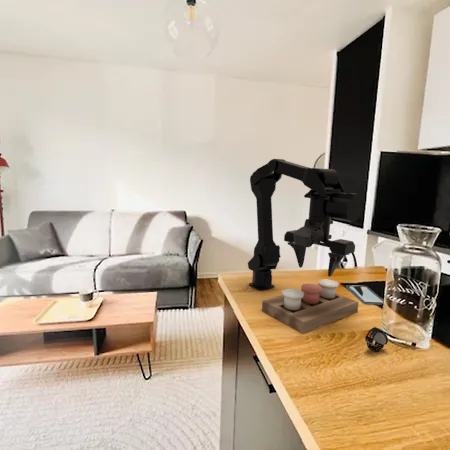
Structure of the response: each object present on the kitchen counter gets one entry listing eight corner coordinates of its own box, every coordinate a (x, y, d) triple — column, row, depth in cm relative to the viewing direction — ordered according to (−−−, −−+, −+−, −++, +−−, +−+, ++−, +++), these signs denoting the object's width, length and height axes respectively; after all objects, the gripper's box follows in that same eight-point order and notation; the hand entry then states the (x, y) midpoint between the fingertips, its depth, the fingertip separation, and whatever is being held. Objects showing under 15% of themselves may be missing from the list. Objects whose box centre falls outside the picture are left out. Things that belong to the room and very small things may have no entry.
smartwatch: (389, 354, 65) (392, 332, 64) (368, 355, 64) (370, 333, 63) (377, 343, 69) (379, 323, 68) (356, 345, 68) (358, 324, 67)
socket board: (261, 310, 84) (262, 300, 84) (315, 294, 97) (315, 285, 97) (303, 333, 72) (303, 322, 72) (357, 311, 85) (358, 301, 85)
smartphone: (364, 303, 90) (345, 285, 105) (363, 306, 91) (344, 287, 105) (388, 304, 90) (366, 285, 105) (388, 306, 91) (365, 288, 105)
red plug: (296, 299, 85) (297, 285, 84) (309, 295, 88) (310, 282, 88) (312, 306, 80) (313, 292, 80) (325, 301, 84) (326, 288, 83)
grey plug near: (277, 304, 81) (278, 290, 80) (291, 300, 84) (292, 287, 83) (292, 312, 76) (293, 297, 76) (307, 307, 79) (308, 293, 79)
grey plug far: (313, 294, 89) (314, 281, 89) (325, 290, 92) (326, 278, 92) (329, 300, 85) (330, 287, 84) (341, 296, 88) (342, 283, 87)
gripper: (273, 213, 82) (269, 267, 85) (336, 223, 68) (329, 288, 71) (297, 211, 89) (293, 261, 92) (359, 220, 75) (352, 279, 78)
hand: (314, 271), depth 83 cm, fingers open, 9 cm apart
